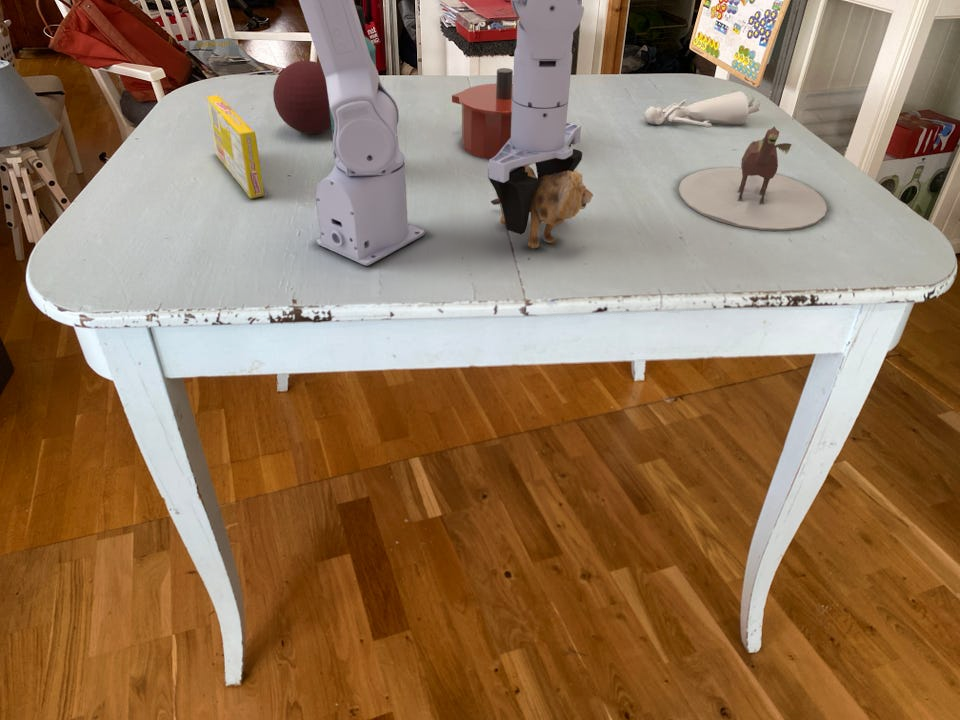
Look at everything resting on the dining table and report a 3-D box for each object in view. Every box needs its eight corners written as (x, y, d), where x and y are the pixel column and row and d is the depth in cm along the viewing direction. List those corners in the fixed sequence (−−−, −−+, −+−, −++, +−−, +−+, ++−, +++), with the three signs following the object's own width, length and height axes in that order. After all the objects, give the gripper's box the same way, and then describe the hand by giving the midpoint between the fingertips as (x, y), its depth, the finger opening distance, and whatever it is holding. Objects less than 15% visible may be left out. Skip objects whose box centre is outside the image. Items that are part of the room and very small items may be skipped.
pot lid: (513, 127, 92) (515, 90, 89) (440, 106, 98) (439, 71, 96) (565, 103, 100) (568, 68, 97) (494, 85, 106) (495, 52, 103)
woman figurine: (775, 103, 105) (658, 114, 104) (769, 132, 108) (655, 144, 107) (743, 80, 115) (634, 90, 113) (738, 107, 117) (632, 118, 116)
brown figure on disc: (832, 240, 81) (865, 148, 74) (673, 217, 85) (691, 128, 78) (820, 179, 95) (847, 97, 88) (683, 162, 99) (699, 82, 92)
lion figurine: (586, 254, 78) (604, 176, 73) (550, 263, 75) (566, 182, 70) (506, 203, 87) (517, 131, 82) (471, 209, 84) (480, 135, 79)
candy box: (267, 196, 88) (255, 130, 83) (250, 200, 87) (237, 134, 82) (231, 153, 99) (219, 93, 94) (216, 156, 98) (202, 95, 93)
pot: (527, 172, 95) (529, 125, 91) (432, 142, 103) (430, 97, 99) (572, 147, 102) (577, 103, 99) (480, 121, 111) (481, 79, 107)
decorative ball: (350, 120, 110) (343, 52, 104) (342, 144, 102) (334, 72, 96) (286, 120, 110) (275, 52, 104) (273, 143, 102) (260, 71, 96)
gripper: (532, 127, 65) (524, 256, 74) (610, 90, 75) (595, 209, 83) (472, 111, 69) (471, 236, 77) (554, 77, 78) (545, 192, 86)
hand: (532, 221), depth 80 cm, fingers closed on lion figurine, 6 cm apart
